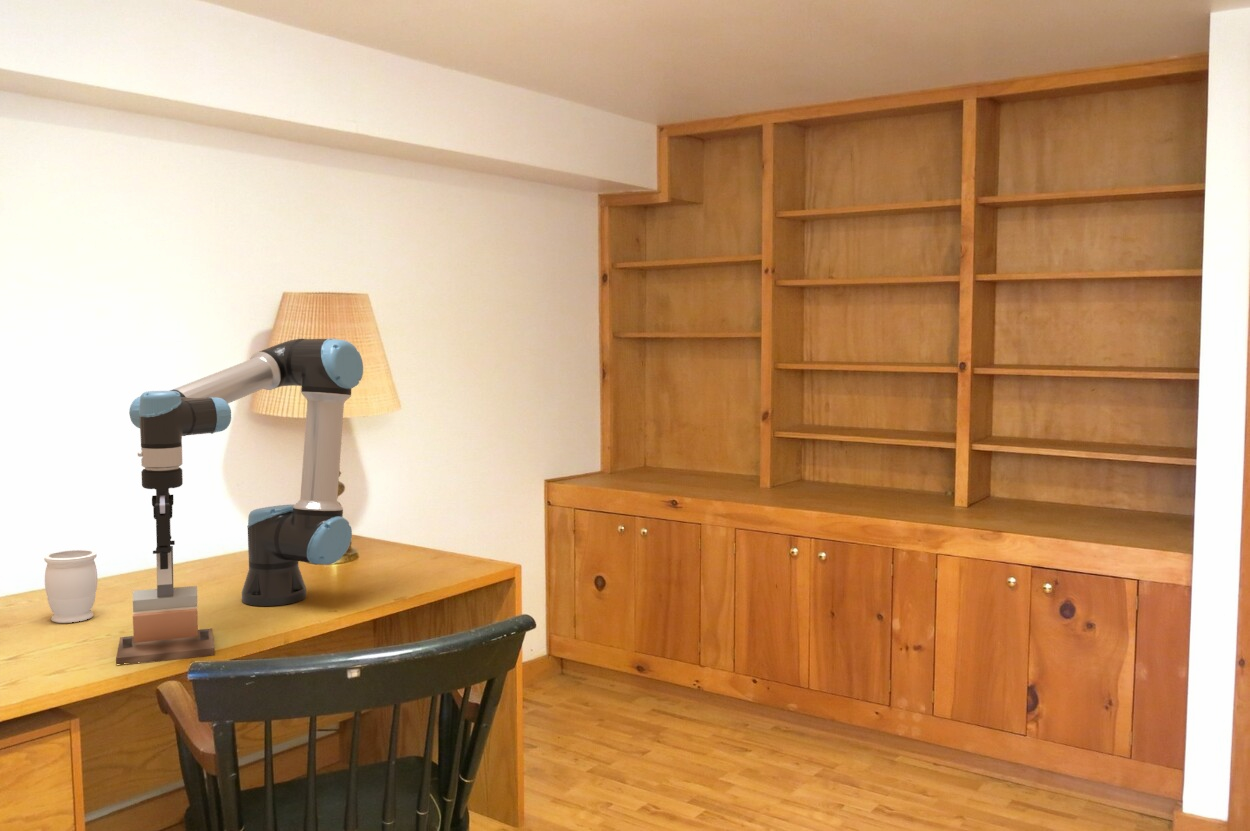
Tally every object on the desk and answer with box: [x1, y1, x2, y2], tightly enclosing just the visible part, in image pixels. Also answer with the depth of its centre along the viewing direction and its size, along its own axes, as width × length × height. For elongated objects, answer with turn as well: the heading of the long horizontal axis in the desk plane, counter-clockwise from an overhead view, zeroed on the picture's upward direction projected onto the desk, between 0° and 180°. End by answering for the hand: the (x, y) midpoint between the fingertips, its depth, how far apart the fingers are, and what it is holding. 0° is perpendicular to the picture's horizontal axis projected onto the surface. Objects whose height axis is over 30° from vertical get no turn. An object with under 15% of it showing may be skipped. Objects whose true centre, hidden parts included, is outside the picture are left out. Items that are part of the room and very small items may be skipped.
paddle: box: [132, 545, 198, 613], centre depth 208 cm, size 12×4×13 cm, turn 114°
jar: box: [43, 549, 98, 624], centre depth 232 cm, size 11×10×15 cm
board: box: [115, 628, 215, 665], centre depth 211 cm, size 18×15×3 cm
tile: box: [132, 605, 199, 643], centre depth 209 cm, size 12×7×1 cm
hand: (164, 580), depth 207 cm, fingers closed on paddle, 5 cm apart
